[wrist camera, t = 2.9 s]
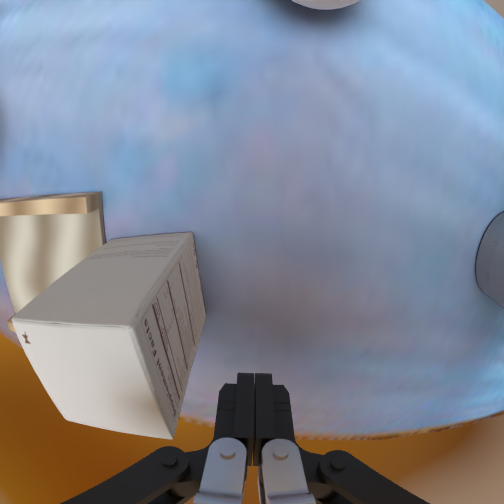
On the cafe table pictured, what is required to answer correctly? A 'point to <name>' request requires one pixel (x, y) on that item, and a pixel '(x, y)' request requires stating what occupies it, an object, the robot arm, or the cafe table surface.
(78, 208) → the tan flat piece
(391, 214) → the cafe table surface
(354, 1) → the sauce bottle
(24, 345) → the supplement box
